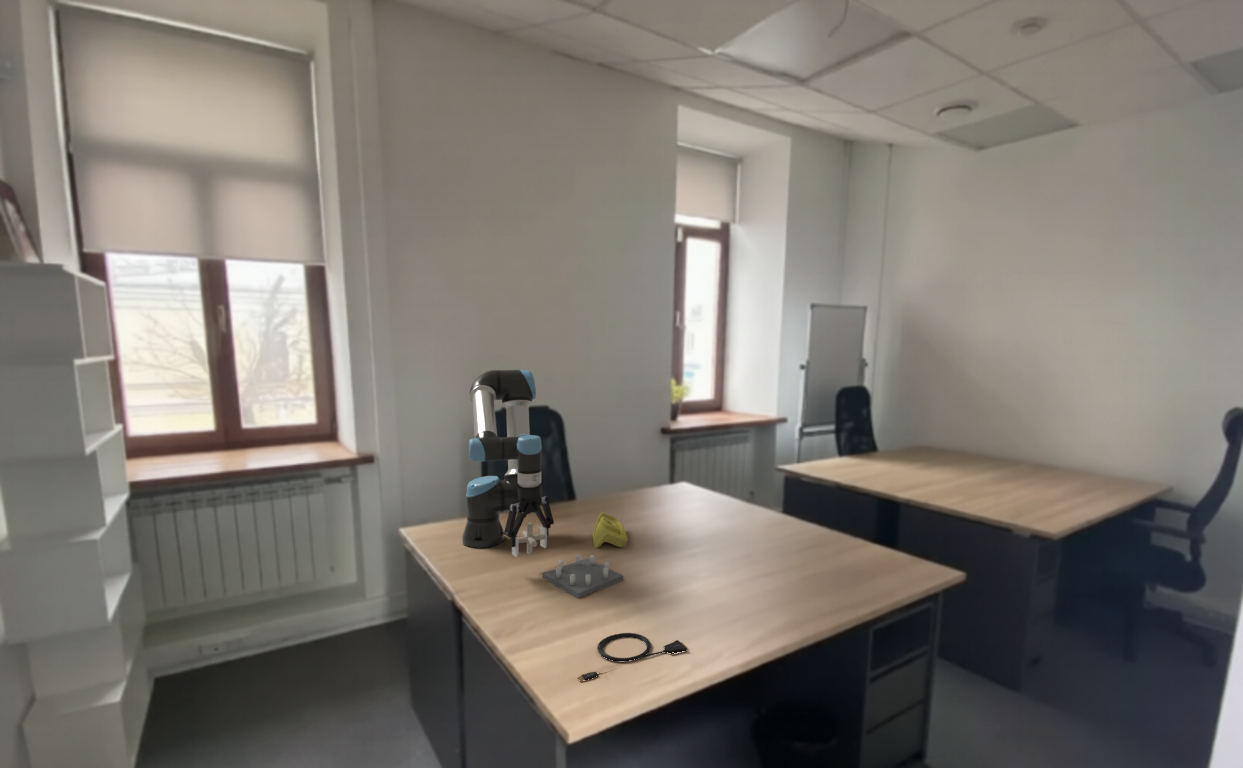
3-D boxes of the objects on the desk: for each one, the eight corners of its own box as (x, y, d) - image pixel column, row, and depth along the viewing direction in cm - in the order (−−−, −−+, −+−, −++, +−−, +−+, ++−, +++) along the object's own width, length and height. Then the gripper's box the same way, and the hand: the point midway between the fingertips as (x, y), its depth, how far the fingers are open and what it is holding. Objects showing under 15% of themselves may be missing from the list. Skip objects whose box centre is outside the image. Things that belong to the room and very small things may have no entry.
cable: (559, 652, 130) (559, 646, 130) (660, 626, 143) (660, 621, 143) (580, 685, 118) (580, 678, 118) (688, 653, 131) (689, 647, 130)
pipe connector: (519, 562, 168) (519, 531, 167) (510, 550, 177) (510, 520, 176) (549, 556, 173) (549, 526, 172) (539, 545, 182) (539, 516, 181)
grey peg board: (542, 578, 170) (542, 564, 170) (586, 562, 182) (586, 549, 182) (578, 598, 157) (578, 583, 156) (623, 579, 169) (623, 566, 169)
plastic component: (628, 542, 195) (603, 531, 193) (619, 560, 195) (594, 549, 194) (621, 520, 214) (599, 510, 212) (613, 536, 215) (590, 526, 213)
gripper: (504, 494, 162) (505, 565, 165) (565, 480, 178) (564, 545, 180) (491, 488, 168) (492, 557, 170) (551, 475, 183) (551, 538, 186)
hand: (529, 551), depth 175 cm, fingers closed on pipe connector, 10 cm apart
